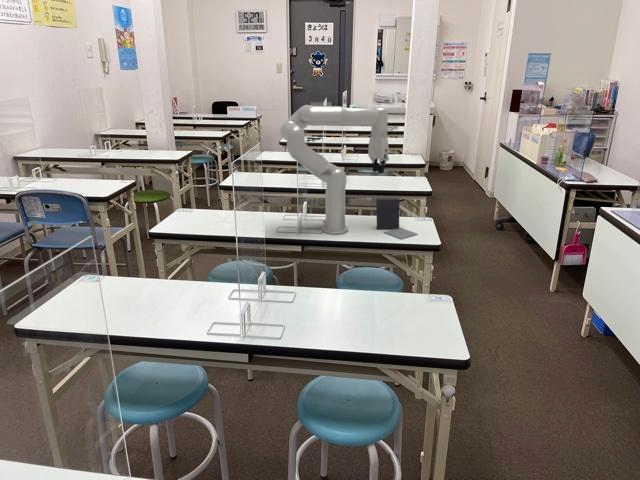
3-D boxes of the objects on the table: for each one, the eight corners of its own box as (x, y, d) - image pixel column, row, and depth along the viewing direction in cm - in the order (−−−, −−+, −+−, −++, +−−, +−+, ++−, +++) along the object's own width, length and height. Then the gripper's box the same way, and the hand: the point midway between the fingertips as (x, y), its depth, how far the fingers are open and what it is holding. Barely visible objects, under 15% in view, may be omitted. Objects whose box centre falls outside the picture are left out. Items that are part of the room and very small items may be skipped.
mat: (383, 232, 230) (383, 232, 230) (400, 228, 236) (400, 227, 236) (401, 239, 221) (401, 238, 221) (417, 234, 227) (417, 233, 227)
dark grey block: (398, 226, 237) (398, 197, 233) (399, 229, 233) (399, 199, 229) (376, 227, 239) (376, 197, 234) (376, 229, 235) (376, 199, 230)
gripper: (362, 133, 231) (361, 170, 237) (385, 136, 218) (384, 176, 225) (373, 131, 235) (372, 168, 241) (397, 135, 222) (395, 173, 229)
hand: (378, 171), depth 233 cm, fingers open, 3 cm apart
